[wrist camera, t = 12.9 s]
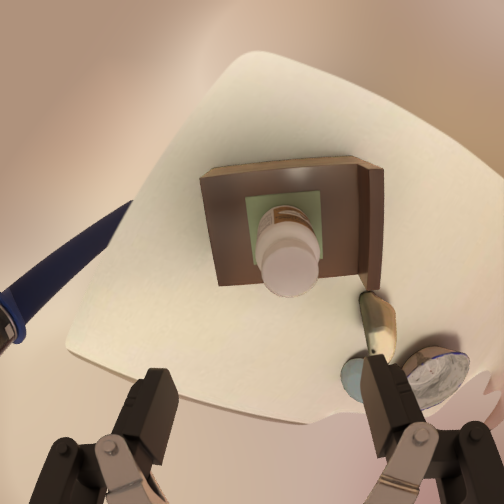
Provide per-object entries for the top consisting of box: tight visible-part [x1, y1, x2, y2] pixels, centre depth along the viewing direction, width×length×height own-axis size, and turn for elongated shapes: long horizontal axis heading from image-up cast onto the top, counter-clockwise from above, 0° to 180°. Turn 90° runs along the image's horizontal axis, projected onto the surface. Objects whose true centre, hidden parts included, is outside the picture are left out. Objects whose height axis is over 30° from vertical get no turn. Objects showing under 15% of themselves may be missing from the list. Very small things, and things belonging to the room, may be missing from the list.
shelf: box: [200, 156, 384, 291], centre depth 26 cm, size 14×10×9 cm
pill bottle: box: [255, 205, 320, 297], centre depth 21 cm, size 4×4×8 cm
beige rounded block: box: [359, 291, 397, 363], centre depth 31 cm, size 6×5×8 cm
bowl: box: [402, 346, 470, 411], centre depth 36 cm, size 13×13×5 cm
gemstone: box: [341, 358, 364, 403], centre depth 37 cm, size 8×8×5 cm
